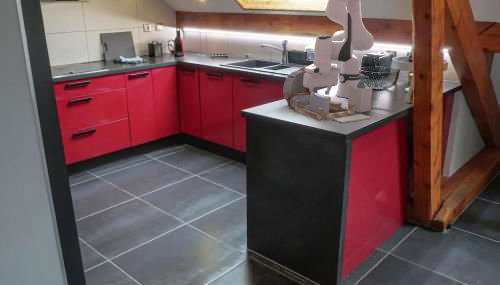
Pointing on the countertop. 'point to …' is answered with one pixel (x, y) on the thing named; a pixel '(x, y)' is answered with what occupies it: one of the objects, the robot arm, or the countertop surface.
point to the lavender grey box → (319, 103)
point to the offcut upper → (335, 105)
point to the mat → (351, 118)
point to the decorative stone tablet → (296, 84)
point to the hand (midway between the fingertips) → (319, 95)
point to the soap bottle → (360, 96)
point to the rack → (319, 115)
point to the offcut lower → (335, 110)
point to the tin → (299, 96)
